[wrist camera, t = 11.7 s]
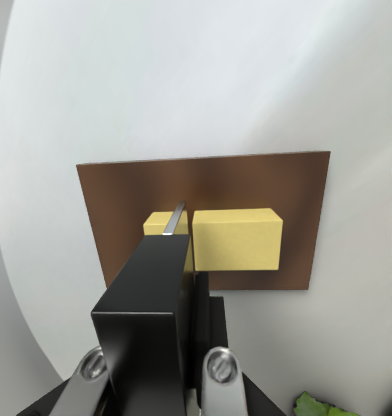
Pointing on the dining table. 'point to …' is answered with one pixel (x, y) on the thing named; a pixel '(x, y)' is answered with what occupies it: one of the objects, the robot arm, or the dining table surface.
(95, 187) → the butter board
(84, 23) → the dining table surface
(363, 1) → the dining table surface
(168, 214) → the butter pat
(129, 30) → the dining table surface
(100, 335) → the knife
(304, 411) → the fruit
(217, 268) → the butter
